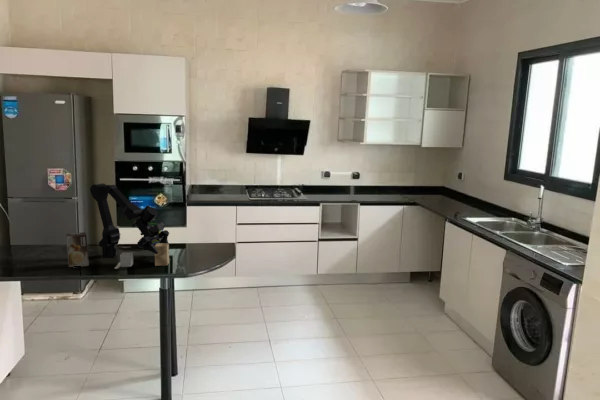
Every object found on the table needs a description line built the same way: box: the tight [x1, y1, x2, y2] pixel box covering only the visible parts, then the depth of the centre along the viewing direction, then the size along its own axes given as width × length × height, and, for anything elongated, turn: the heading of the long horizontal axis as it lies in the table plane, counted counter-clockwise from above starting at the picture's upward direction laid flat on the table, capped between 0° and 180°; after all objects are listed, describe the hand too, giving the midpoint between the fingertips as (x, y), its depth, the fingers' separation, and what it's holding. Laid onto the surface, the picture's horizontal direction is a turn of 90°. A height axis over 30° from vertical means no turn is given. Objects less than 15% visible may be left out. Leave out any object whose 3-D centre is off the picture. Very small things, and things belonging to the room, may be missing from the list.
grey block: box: [119, 251, 134, 268], centre depth 238 cm, size 5×5×6 cm
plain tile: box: [114, 262, 121, 270], centre depth 238 cm, size 10×10×1 cm
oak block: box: [154, 242, 170, 267], centre depth 241 cm, size 6×6×10 cm
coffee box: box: [65, 232, 90, 268], centre depth 237 cm, size 9×6×16 cm
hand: (163, 251), depth 240 cm, fingers open, 9 cm apart
